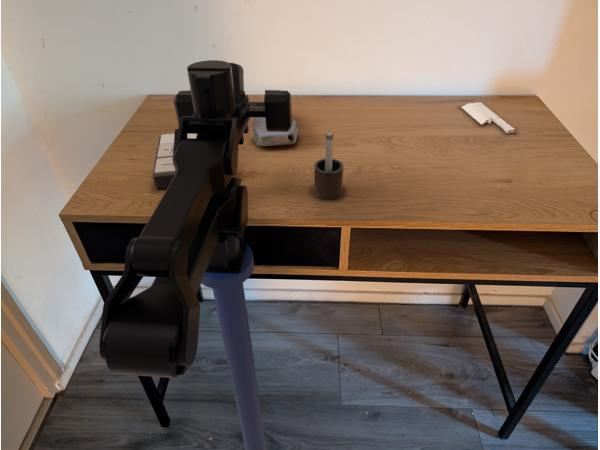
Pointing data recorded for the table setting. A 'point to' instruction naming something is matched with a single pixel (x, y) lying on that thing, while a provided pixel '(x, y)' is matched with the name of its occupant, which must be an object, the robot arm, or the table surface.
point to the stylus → (329, 152)
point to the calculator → (165, 161)
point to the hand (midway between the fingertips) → (243, 93)
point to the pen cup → (328, 180)
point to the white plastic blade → (486, 116)
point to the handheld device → (272, 133)
